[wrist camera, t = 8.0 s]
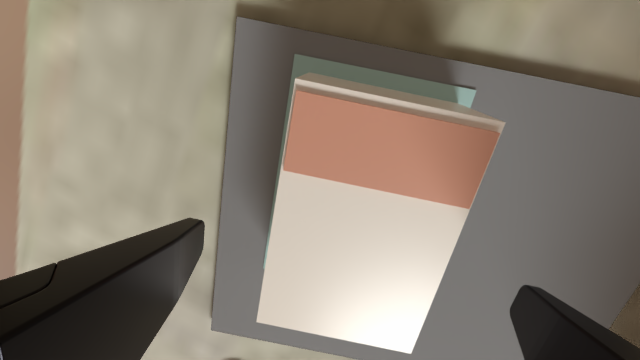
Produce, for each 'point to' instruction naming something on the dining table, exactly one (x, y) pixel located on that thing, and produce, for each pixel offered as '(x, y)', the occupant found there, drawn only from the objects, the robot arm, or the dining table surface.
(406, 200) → the card box
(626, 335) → the dining table surface
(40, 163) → the dining table surface
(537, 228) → the mat
